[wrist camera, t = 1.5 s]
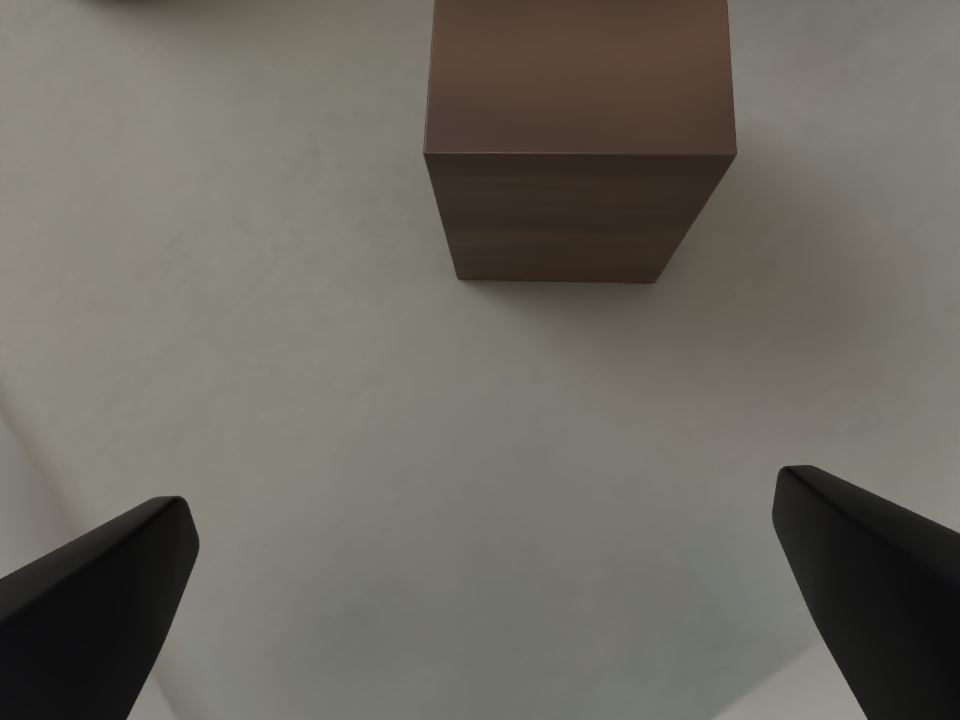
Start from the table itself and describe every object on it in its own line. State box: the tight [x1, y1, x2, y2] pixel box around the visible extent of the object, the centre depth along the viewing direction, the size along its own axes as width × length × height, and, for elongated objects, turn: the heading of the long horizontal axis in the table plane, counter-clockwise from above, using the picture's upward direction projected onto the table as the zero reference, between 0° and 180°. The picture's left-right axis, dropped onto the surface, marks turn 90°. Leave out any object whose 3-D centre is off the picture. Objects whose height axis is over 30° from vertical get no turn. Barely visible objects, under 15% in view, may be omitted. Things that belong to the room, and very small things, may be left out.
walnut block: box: [423, 0, 737, 283], centre depth 20 cm, size 8×8×9 cm
